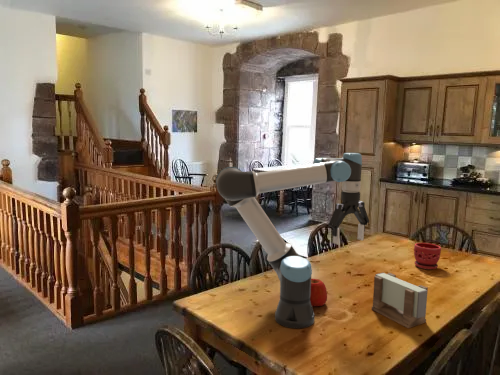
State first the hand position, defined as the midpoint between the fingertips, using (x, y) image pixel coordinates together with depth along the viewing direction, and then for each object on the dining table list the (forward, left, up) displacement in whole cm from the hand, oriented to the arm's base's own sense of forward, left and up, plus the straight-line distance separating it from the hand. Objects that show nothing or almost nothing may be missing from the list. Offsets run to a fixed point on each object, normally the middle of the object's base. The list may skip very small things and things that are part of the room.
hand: (348, 241), depth 169 cm
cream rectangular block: (+10, -19, -23) cm, 31 cm away
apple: (-12, +6, -27) cm, 30 cm away
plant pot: (+71, +14, -27) cm, 77 cm away
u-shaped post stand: (+10, -19, -27) cm, 34 cm away
